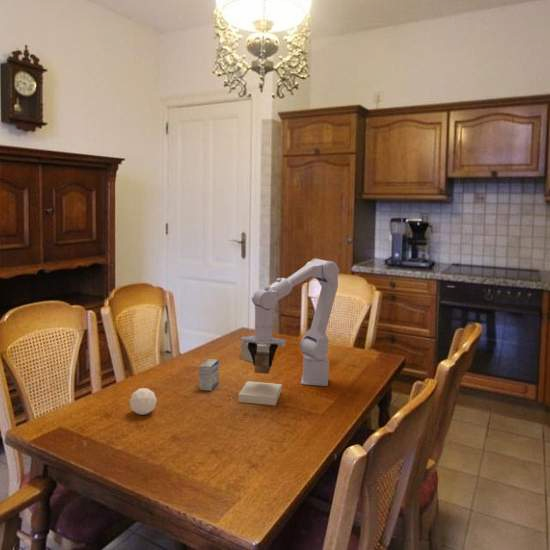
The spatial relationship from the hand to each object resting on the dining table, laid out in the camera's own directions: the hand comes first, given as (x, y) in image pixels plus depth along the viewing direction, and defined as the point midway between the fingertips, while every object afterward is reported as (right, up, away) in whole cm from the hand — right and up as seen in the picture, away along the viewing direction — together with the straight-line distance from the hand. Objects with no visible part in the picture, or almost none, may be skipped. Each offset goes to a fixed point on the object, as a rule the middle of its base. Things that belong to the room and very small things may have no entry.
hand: (262, 365), depth 165 cm
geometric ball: (-36, -12, -16) cm, 41 cm away
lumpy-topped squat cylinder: (-4, -4, +37) cm, 38 cm away
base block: (-1, -10, -2) cm, 11 cm away
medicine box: (-19, -9, +6) cm, 21 cm away
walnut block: (0, -2, 0) cm, 2 cm away
